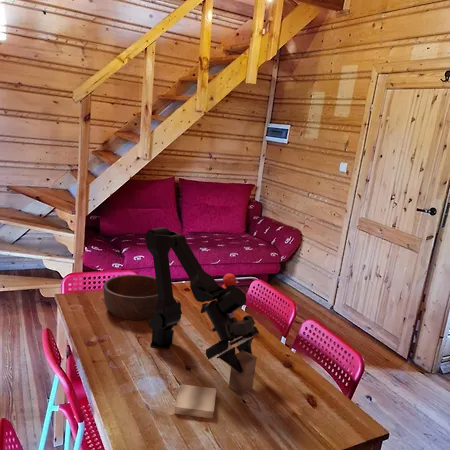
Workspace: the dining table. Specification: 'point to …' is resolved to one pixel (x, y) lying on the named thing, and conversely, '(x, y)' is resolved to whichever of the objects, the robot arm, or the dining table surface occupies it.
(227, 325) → the robot arm
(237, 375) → the walnut pillar
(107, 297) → the wooden bowl
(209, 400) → the birch plinth
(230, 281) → the stacking toy
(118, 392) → the dining table surface
